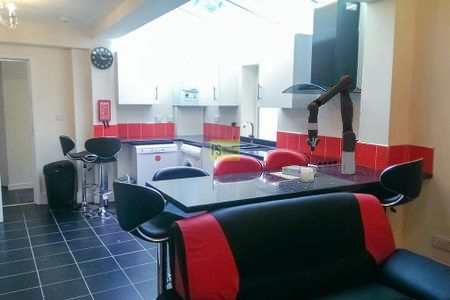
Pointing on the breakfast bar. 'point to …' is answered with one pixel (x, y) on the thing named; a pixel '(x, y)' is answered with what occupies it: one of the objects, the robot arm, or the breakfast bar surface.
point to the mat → (285, 175)
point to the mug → (307, 174)
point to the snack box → (295, 170)
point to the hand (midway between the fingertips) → (312, 151)
